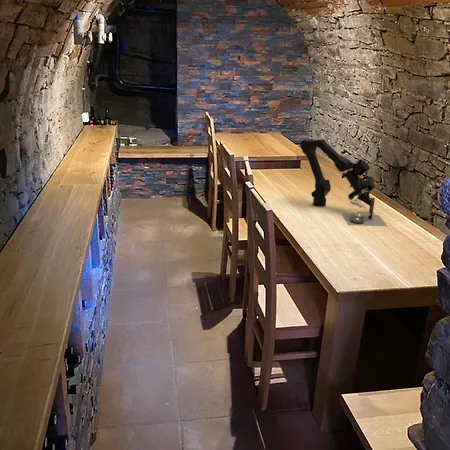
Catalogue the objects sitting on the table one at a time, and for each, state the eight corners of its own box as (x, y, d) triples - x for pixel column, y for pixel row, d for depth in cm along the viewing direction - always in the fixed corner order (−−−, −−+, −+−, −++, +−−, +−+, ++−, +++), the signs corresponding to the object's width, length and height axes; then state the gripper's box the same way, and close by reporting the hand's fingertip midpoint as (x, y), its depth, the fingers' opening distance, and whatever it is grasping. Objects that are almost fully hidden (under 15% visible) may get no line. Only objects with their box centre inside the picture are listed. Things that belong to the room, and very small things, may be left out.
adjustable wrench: (374, 216, 268) (374, 212, 267) (363, 216, 267) (363, 213, 267) (358, 201, 291) (359, 198, 291) (348, 201, 291) (348, 198, 290)
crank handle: (347, 221, 254) (350, 200, 250) (357, 215, 263) (360, 194, 259) (362, 225, 249) (365, 203, 245) (372, 218, 258) (375, 198, 254)
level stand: (347, 226, 250) (348, 224, 249) (341, 215, 265) (341, 213, 265) (387, 228, 249) (387, 225, 249) (378, 216, 265) (378, 214, 265)
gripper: (355, 175, 248) (373, 201, 245) (374, 169, 261) (391, 193, 257) (340, 187, 256) (357, 212, 253) (359, 180, 269) (375, 204, 265)
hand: (370, 205), depth 257 cm, fingers closed
